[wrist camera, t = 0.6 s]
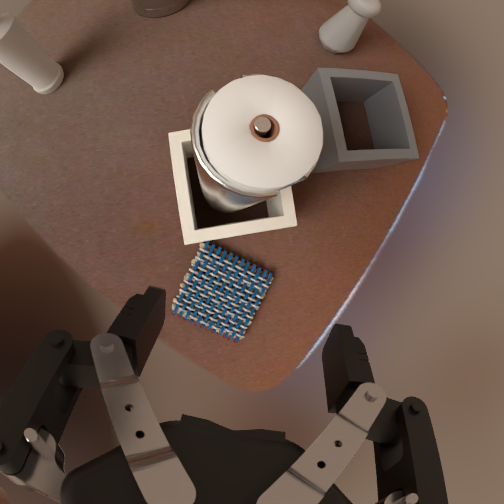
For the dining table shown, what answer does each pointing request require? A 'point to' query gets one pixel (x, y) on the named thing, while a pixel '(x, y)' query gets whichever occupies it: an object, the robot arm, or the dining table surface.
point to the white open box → (278, 212)
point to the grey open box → (378, 115)
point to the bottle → (27, 56)
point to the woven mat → (212, 291)
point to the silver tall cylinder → (254, 141)
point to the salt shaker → (347, 25)
